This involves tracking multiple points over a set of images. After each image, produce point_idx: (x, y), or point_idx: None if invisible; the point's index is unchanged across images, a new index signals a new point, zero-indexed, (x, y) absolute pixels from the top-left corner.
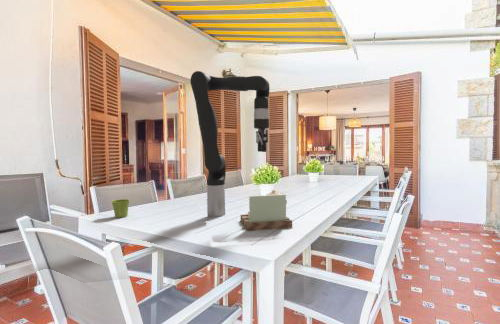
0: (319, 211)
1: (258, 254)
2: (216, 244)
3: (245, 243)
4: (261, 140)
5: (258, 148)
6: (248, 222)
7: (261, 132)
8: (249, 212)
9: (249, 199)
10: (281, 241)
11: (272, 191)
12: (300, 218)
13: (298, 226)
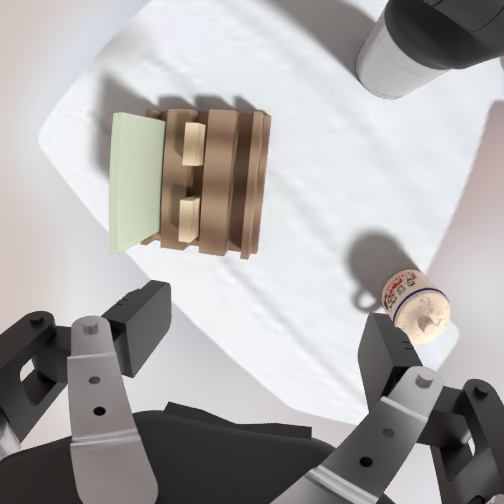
0: (321, 397)
1: (52, 119)
2: (117, 43)
3: (101, 100)
4: (81, 348)
5: (377, 336)
6: (168, 118)
7: (8, 457)
8: (186, 125)
9: (126, 113)
10: (91, 179)
11: (428, 320)
12: (267, 318)
13: (185, 271)
